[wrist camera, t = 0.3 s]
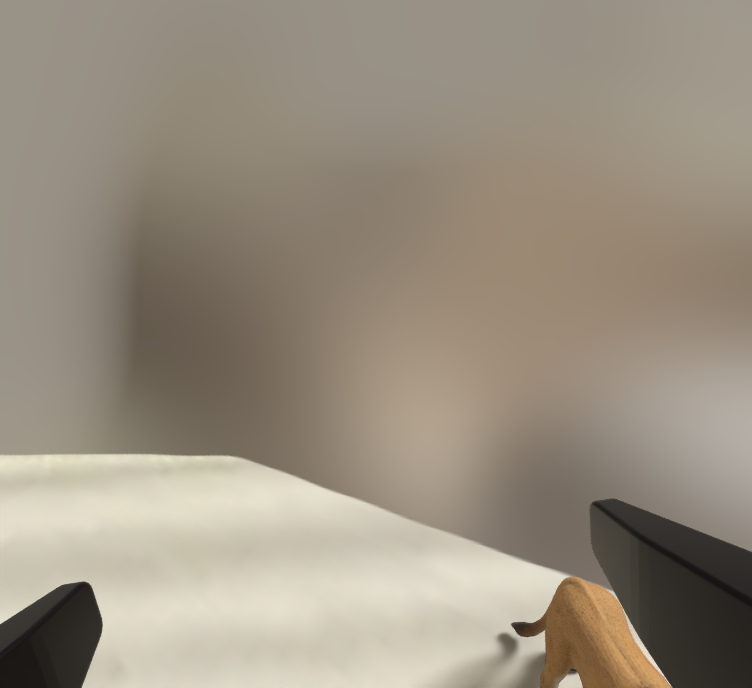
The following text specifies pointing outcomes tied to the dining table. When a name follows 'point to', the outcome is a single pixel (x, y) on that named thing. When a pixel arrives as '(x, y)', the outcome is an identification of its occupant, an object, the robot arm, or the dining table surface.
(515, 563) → the dining table surface
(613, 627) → the lion figurine
